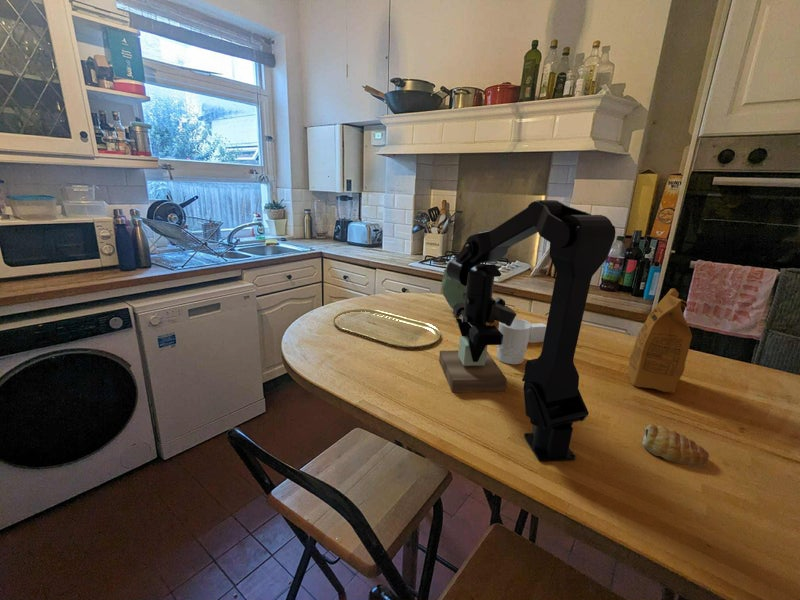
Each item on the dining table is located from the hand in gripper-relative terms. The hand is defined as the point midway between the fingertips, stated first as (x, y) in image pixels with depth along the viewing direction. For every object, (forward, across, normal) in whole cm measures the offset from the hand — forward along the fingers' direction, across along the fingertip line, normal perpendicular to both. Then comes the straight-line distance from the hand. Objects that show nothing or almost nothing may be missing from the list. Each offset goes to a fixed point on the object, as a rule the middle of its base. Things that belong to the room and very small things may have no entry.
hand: (472, 356), depth 86 cm
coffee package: (+5, -4, -43) cm, 44 cm away
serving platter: (+6, +28, +18) cm, 34 cm away
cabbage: (+5, +42, -10) cm, 44 cm away
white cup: (+5, +8, -13) cm, 16 cm away
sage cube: (+1, 0, 0) cm, 1 cm away
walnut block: (+5, 0, 0) cm, 5 cm away
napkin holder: (+6, +19, -22) cm, 30 cm away
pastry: (+6, -27, -28) cm, 39 cm away
